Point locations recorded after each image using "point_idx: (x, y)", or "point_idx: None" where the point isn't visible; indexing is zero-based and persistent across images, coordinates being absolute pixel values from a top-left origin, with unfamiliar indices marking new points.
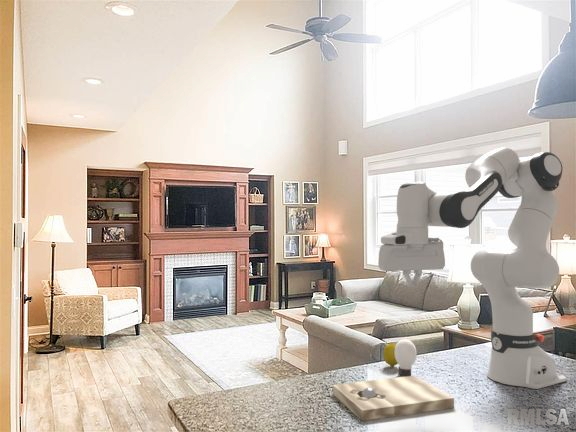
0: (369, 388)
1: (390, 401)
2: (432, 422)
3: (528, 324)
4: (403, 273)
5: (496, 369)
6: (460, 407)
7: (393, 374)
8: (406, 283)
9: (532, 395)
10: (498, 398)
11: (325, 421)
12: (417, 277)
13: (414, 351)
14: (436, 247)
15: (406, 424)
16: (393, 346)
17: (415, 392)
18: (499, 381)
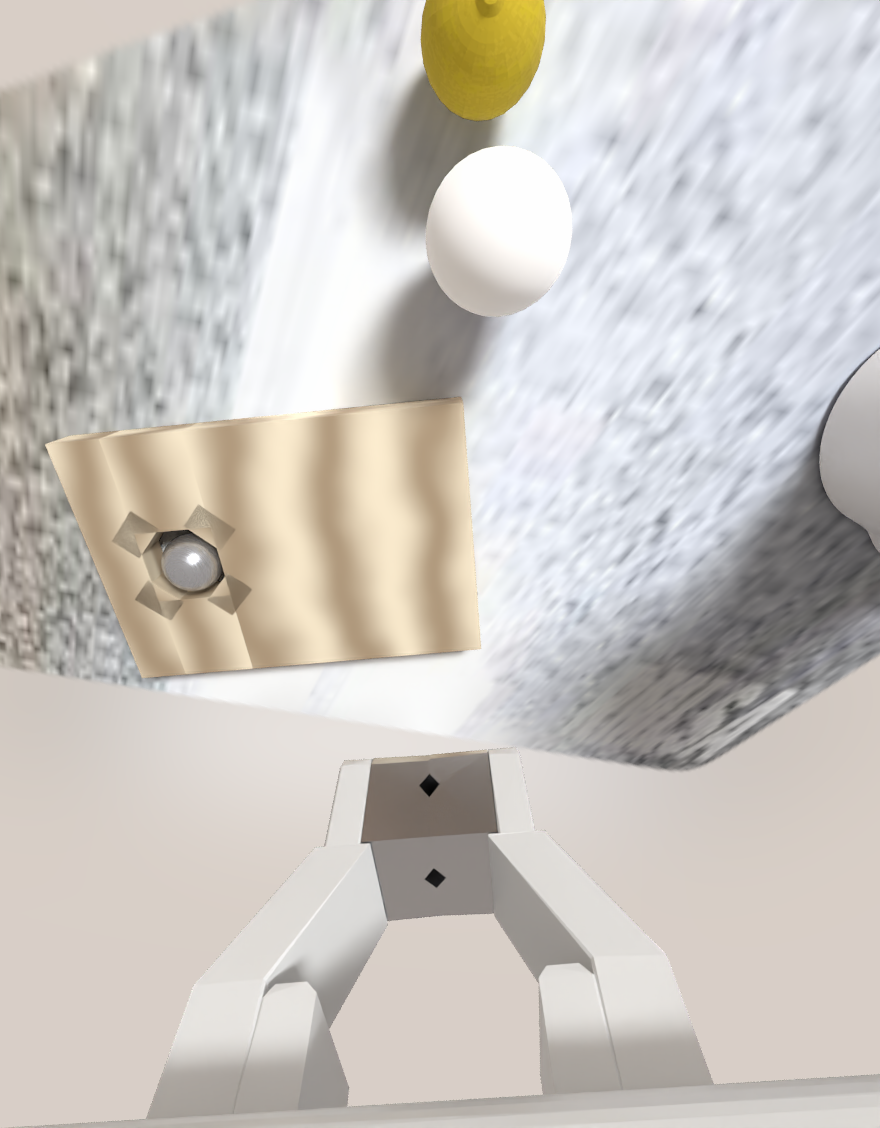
0: (182, 576)
1: (251, 636)
2: (359, 697)
3: None
4: (200, 1019)
5: (868, 455)
6: (500, 631)
7: (424, 229)
8: (339, 783)
9: (812, 595)
10: (677, 594)
11: (42, 641)
12: (527, 958)
13: (530, 304)
14: None
15: (281, 695)
16: (482, 52)
17: (371, 584)
18: (823, 470)
